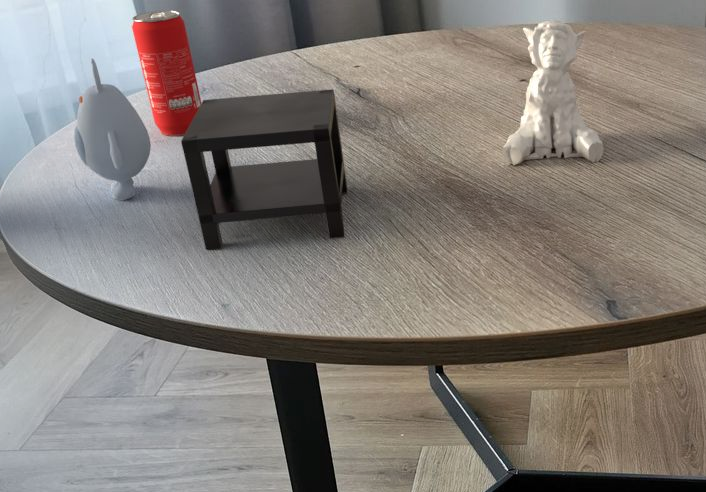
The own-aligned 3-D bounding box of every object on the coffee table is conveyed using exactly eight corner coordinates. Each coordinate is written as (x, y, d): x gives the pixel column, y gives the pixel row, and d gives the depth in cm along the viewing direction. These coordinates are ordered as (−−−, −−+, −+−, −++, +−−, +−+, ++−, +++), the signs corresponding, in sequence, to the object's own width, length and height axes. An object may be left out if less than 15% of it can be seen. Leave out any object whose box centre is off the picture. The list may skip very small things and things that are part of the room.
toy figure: (89, 181, 92) (52, 53, 85) (156, 169, 94) (125, 44, 87) (93, 219, 83) (53, 81, 77) (167, 206, 85) (134, 70, 79)
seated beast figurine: (502, 167, 89) (495, 35, 83) (502, 137, 96) (496, 14, 90) (604, 162, 89) (604, 29, 83) (596, 133, 96) (596, 9, 90)
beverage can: (155, 139, 102) (127, 23, 96) (158, 125, 106) (132, 13, 100) (205, 133, 103) (181, 17, 97) (206, 119, 107) (183, 8, 101)
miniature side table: (205, 250, 76) (180, 140, 72) (224, 199, 86) (203, 99, 81) (344, 237, 77) (328, 128, 72) (347, 188, 87) (333, 89, 82)
